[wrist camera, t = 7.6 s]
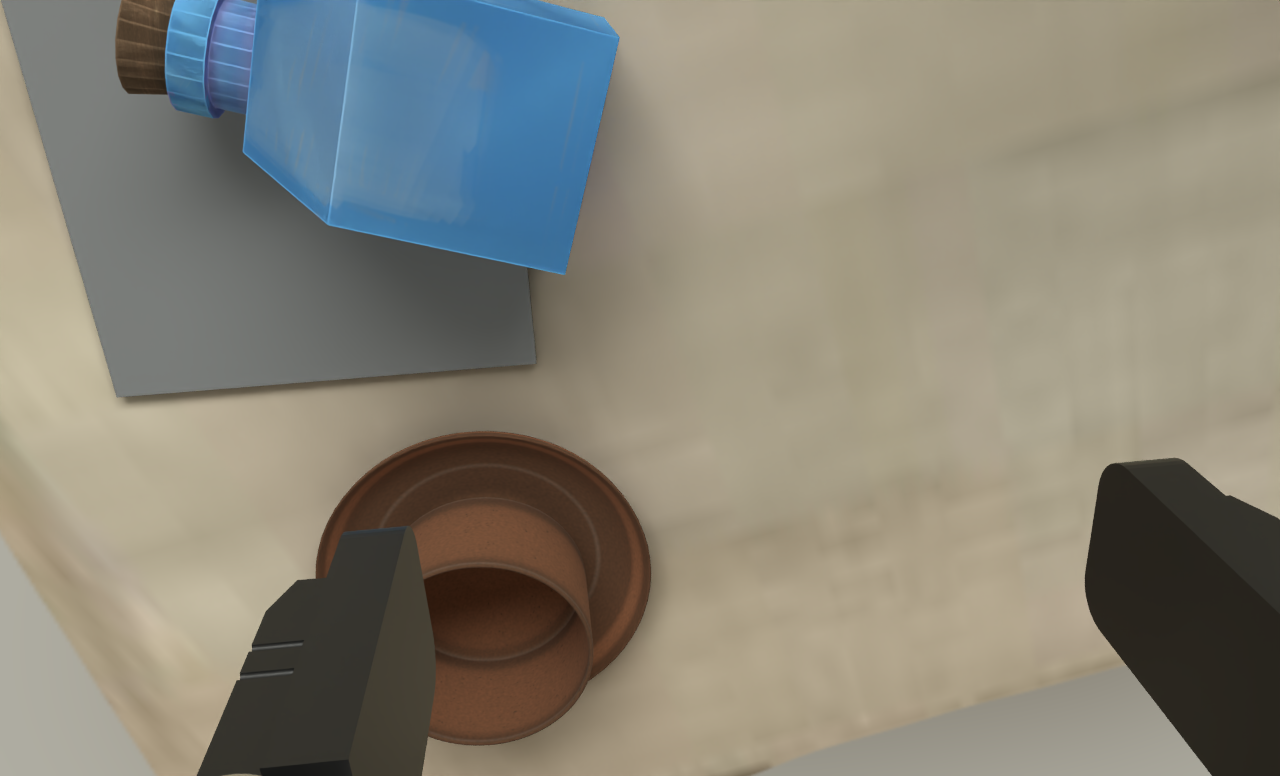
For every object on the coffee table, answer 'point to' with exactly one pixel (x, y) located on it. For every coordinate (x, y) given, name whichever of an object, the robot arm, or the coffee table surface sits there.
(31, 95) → the mat
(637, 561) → the cup and saucer
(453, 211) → the perfume bottle
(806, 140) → the coffee table surface
